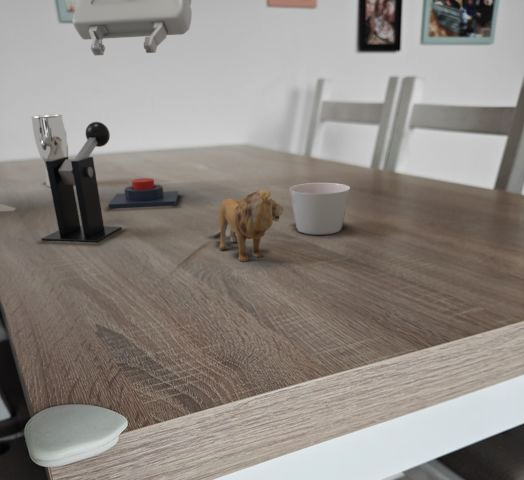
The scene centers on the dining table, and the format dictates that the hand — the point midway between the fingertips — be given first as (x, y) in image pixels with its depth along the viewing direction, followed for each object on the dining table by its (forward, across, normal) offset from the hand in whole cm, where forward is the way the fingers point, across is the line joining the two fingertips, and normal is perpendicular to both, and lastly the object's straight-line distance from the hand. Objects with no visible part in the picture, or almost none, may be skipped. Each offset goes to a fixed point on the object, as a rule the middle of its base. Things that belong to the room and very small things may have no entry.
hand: (122, 51), depth 91 cm
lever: (+22, 0, -1) cm, 22 cm away
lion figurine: (+36, +26, +1) cm, 44 cm away
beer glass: (+2, -31, +35) cm, 47 cm away
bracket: (+34, 0, +3) cm, 34 cm away
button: (+14, 0, +18) cm, 23 cm away
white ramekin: (+26, +34, +10) cm, 45 cm away
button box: (+17, 0, +20) cm, 26 cm away
